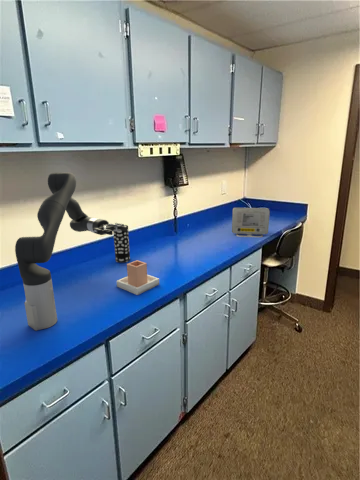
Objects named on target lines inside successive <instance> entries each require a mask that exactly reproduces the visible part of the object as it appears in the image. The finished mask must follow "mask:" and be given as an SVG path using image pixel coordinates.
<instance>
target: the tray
mask: <svg viewBox="0 0 360 480" xmlns="http://www.w3.org/2000/svg"><path fill="white" fill-rule="evenodd" d="M147 282H148V283H146V284H144V285H142V286H140V287H135V286H132V285H130V284H128V275H127V276H124V277H123V278H120V279H117V280H116V287H117V288H120V289H122V290H124V291H127V292H129V293H131V294H134V295H136V296H139V295H141V294H142V293H145V292H147V291H149V290H151V289H153V288H155V287H157V286H159V285H160V278H158V277H156V276H153V275H150V274H147Z"/></svg>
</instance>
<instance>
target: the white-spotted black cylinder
mask: <svg viewBox="0 0 360 480" xmlns="http://www.w3.org/2000/svg"><path fill="white" fill-rule="evenodd" d="M124 226H125V227H127V231H121V230H118V231H112V232H113V246H114V247H113V248H114V258H115V259H114V260H115V262H116V263H120V264H121V263H122V264H123V263H128V262H130V261H131V251H130V250H131V249H130V238H129V237H130V236H129V226H128V225H127V224H124ZM114 230H116V228H115V227H114Z"/></svg>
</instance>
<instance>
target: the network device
mask: <svg viewBox="0 0 360 480" xmlns="http://www.w3.org/2000/svg"><path fill="white" fill-rule="evenodd" d="M270 213H271V211H270V208H268V207H233V208H232V216H231V217H232V219H231V232H232V233H233V234H236V237H239V238H264V235H267V234H268V233H269V229H270V228H269V226H270V225H269V224H270Z"/></svg>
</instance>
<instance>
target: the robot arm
mask: <svg viewBox="0 0 360 480" xmlns="http://www.w3.org/2000/svg"><path fill="white" fill-rule="evenodd" d="M47 187H48V188H49V190H50V192H51V193H52V194H51V195H49V196H47V197H46V198H45V199H44V200H43V201H42V202H41V204H40V207H39V208H38V211H37V215H36V216H37V221H38V223H39V224H40V226H41V227H42V229H43V233H42V235H40V236H22V237H19V238H17V240H16V241H15V246H14V252H15V253H14V254H15V258H16V262H17V267H18V269H19V276H20V278H21V279H22V284H23V288H24V295H25V301H24V309H25V314H26V320H27V325H28V326H29V327H30V328H31V329H32V330H34V331H36V332H37V331H39V330H43V329H44V330H45V329H48V328H52V327H53V326H54V325H55V324H57V322H58V315H57V308H56V302H55V293H54V287H53V280H52V274H51V271H50V270H49V269H47V268H45V267H42V266H40V265H38V264H44V263H48V262H49V261H50V259H51V258H52V256H53V252H54V247H55V244H56V238H57V235H58V231H59V228H60V225H61V224H62V221H63V219H64V216H65V213H66V214H67V216H68V217H69V218H70V219H71V220H70V222H69V227H70V229H71V230H72V231H75V232H77V233H78V232H79V233H81V232H91V233H94V234H96V235H99V236H105V235H109V236H114V234H113V231H118V230H121V231H127V227H125V226H124V225H125V224H124V223H117V222H114V223H109V221H108V220H106V219H103V218H98V217H95V218H94V217H89V216H88V214H86V213H85V212H84V211H83V210H82V208H81V206H80V204H79V202H78V201H77V200H76V199H75V198H73V195H74V192H75V190H76V187H77V179H76V176H75V174H74V173H71V172H52V173H50V174H48V177H47ZM114 227H115V228H116V230H114Z"/></svg>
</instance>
